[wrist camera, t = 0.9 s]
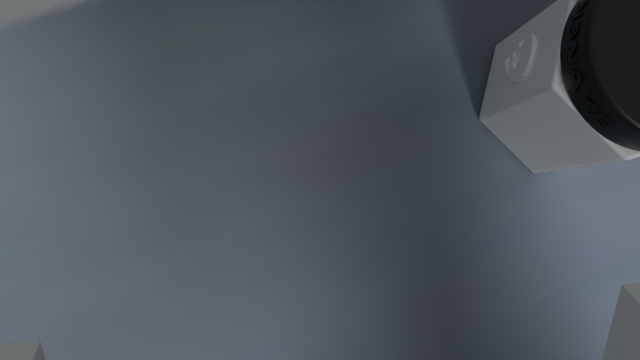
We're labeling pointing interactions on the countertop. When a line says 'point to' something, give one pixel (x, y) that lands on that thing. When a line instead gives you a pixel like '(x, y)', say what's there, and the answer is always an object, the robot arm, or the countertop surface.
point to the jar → (568, 86)
